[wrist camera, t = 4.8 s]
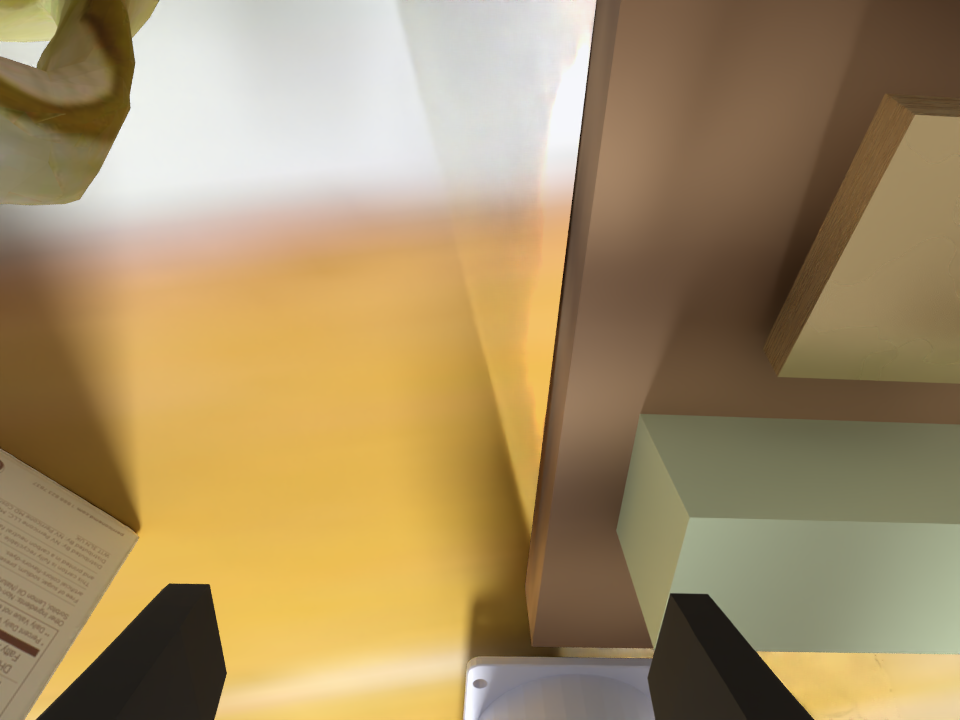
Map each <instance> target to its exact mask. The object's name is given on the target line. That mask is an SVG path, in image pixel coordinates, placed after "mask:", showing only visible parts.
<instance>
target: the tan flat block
mask: <svg viewBox="0 0 960 720" xmlns="http://www.w3.org/2000/svg"><path fill="white" fill-rule="evenodd" d="M762 349H763V351H764V352H765V354H766V356H767V358H768V360H769V362H770V364H771V366H772V367H773V369H774V371H775V373H776V375H777V377H793V378H820V379H847V380H874V381H901V382H928V383H955V384H960V98H953V97H937V96H920V95H904V94H887V93H885V95H884V97H883V99H882V101H881V103H880V105H879V108H878V110H877V112H876V114H875V116H874V118H873V120H872V122H871V124H870V126H869V128H868V130H867V132H866V134H865V137H864V139H863V141H862V143H861V145H860V147H859V149H858V151H857V153H856V155H855V157H854V159H853V161H852V164H851V166H850V168H849V170H848V172H847V174H846V176H845V178H844V180H843V182H842V184H841V186H840V188H839V190H838V193H837V195H836V197H835V199H834V201H833V203H832V205H831V207H830V209H829V211H828V213H827V215H826V217H825V220H824V222H823V224H822V226H821V228H820V230H819V232H818V234H817V236H816V238H815V240H814V242H813V244H812V246H811V249H810V251H809V253H808V255H807V257H806V259H805V261H804V263H803V265H802V267H801V269H800V271H799V273H798V276H797V278H796V280H795V282H794V284H793V286H792V288H791V290H790V292H789V294H788V296H787V298H786V300H785V302H784V305H783V307H782V309H781V311H780V313H779V315H778V317H777V319H776V321H775V323H774V325H773V327H772V329H771V332H770V334H769V336H768V338H767V340H766V342H765V344H764V346H763V348H762Z"/></svg>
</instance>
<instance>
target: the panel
mask: <svg viewBox="0 0 960 720" xmlns="http://www.w3.org/2000/svg"><path fill="white" fill-rule="evenodd" d="M885 93H887V94H904V95H920V96H937V97H953V98H960V0H597V1H596V9H595V17H594V26H593V34H592V42H591V50H590V58H589V66H588V75H587V83H586V91H585V99H584V107H583V116H582V124H581V132H580V140H579V148H578V156H577V165H576V173H575V181H574V189H573V197H572V206H571V214H570V222H569V230H568V238H567V246H566V255H565V263H564V271H563V279H562V287H561V296H560V304H559V312H558V320H557V328H556V336H555V345H554V353H553V361H552V369H551V377H550V386H549V394H548V402H547V410H546V418H545V426H544V435H543V443H542V451H541V459H540V467H539V476H538V484H537V492H536V500H535V508H534V516H533V525H532V533H531V541H530V549H529V557H528V566H527V574H526V582H525V592H526V601H527V609H528V618H529V626H530V635H531V643H532V647H589V648H653V645H652V642H651V638H650V635H649V632H648V629H647V626H646V623H645V620H644V616H643V613H642V610H641V607H640V604H639V601H638V598H637V594H636V591H635V588H634V585H633V582H632V579H631V575H630V572H629V569H628V566H627V563H626V560H625V557H624V553H623V550H622V547H621V544H620V541H619V538H618V535H617V531H616V529H617V524H618V520H619V515H620V510H621V505H622V500H623V495H624V490H625V485H626V480H627V475H628V470H629V465H630V460H631V455H632V450H633V445H634V440H635V436H636V431H637V426H638V421H639V416H640V414H660V415H690V416H720V417H750V418H780V419H809V420H839V421H869V422H899V423H929V424H958V425H960V384H955V383H928V382H901V381H874V380H847V379H820V378H793V377H777V375H776V373H775V371H774V369H773V367H772V366H771V364H770V362H769V360H768V358H767V356H766V354H765V352H764V351H763V349H762V348H763V346H764V344H765V342H766V340H767V338H768V336H769V334H770V332H771V329H772V327H773V325H774V323H775V321H776V319H777V317H778V315H779V313H780V311H781V309H782V307H783V305H784V302H785V300H786V298H787V296H788V294H789V292H790V290H791V288H792V286H793V284H794V282H795V280H796V278H797V276H798V273H799V271H800V269H801V267H802V265H803V263H804V261H805V259H806V257H807V255H808V253H809V251H810V249H811V246H812V244H813V242H814V240H815V238H816V236H817V234H818V232H819V230H820V228H821V226H822V224H823V222H824V220H825V217H826V215H827V213H828V211H829V209H830V207H831V205H832V203H833V201H834V199H835V197H836V195H837V193H838V190H839V188H840V186H841V184H842V182H843V180H844V178H845V176H846V174H847V172H848V170H849V168H850V166H851V164H852V161H853V159H854V157H855V155H856V153H857V151H858V149H859V147H860V145H861V143H862V141H863V139H864V137H865V134H866V132H867V130H868V128H869V126H870V124H871V122H872V120H873V118H874V116H875V114H876V112H877V110H878V108H879V105H880V103H881V101H882V99H883V97H884V95H885Z"/></svg>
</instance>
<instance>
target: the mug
mask: <svg viewBox="0 0 960 720" xmlns="http://www.w3.org/2000/svg"><path fill="white" fill-rule="evenodd" d="M158 2H159V0H0V41H5V42H35V41H50V40H51V41H50V42H49V44H48V45H47V47H46V48H45V50H44V51H43V53H42V55H41V57H40V59H39V61H38V64H37V68H34V67H31V66H28V65H25V64H22V63H19V62H16V61H13V60H10V59H7V58H4V57H0V204H19V205H50V204H66V203H70V202H73V201H76V200H80V198H81V197H82V195H83V194H84V192H85V191H86V189H87V188H88V186H89V185H90V183H91V182H92V181H93V179H94V178H95V176H96V175H97V174H98V172H99V171H100V169H101V167H102V165H103V163H104V161H105V159H106V157H107V155H108V153H109V151H110V149H111V147H112V145H113V143H114V141H115V139H116V137H117V135H118V133H119V131H120V129H121V127H122V124H123V122H124V120H125V118H126V116H127V114H128V112H129V110H130V90H131V84H132V79H133V73H134V67H135V58H134V51H133V44H132V37H133V36H134V35H135V34H136V33H137V32H138V31H139V29H140V28H141V27H142V26H143V25H144V24H145V22H146V21H147V20H148V19H149V18H150V16H151V14H152V13H153V11H154V9H155V7H156V5H157V3H158Z"/></svg>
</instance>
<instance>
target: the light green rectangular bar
mask: <svg viewBox="0 0 960 720" xmlns="http://www.w3.org/2000/svg"><path fill="white" fill-rule="evenodd" d="M616 531H617V535H618V538H619V541H620V544H621V547H622V550H623V553H624V557H625V560H626V563H627V566H628V569H629V572H630V575H631V579H632V582H633V585H634V588H635V591H636V594H637V598H638V601H639V604H640V607H641V610H642V613H643V616H644V620H645V623H646V626H647V629H648V632H649V635H650V638H651V642H652V645H653V648H654V650H655V648H656V644H657V640H658V637H659V633H660V629H661V625H662V622H663V618H664V614H665V611H666V607H667V603H668V599H669V596H670V593H689V594H708V595H709V596H710V597H711V598H712V599H713V600H714V602H715V603H716V604H717V605H718V606H719V608H720V609H721V610H722V611H723V612H724V614H725V615H726V616H727V617H728V618H729V620H730V621H731V622H732V623H733V625H734V626H735V627H736V628H737V629H738V631H739V632H740V633H741V634H742V635H743V637H744V638H745V639H746V640H747V642H748V643H749V644H750V645H751V646H752V648H753V649H754V650H755V651H768V652H838V653H907V654H960V425H958V424H929V423H899V422H869V421H839V420H809V419H780V418H750V417H720V416H690V415H660V414H640V416H639V421H638V426H637V431H636V436H635V440H634V445H633V450H632V455H631V460H630V465H629V470H628V475H627V480H626V485H625V490H624V495H623V500H622V505H621V510H620V515H619V520H618V524H617V529H616Z"/></svg>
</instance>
